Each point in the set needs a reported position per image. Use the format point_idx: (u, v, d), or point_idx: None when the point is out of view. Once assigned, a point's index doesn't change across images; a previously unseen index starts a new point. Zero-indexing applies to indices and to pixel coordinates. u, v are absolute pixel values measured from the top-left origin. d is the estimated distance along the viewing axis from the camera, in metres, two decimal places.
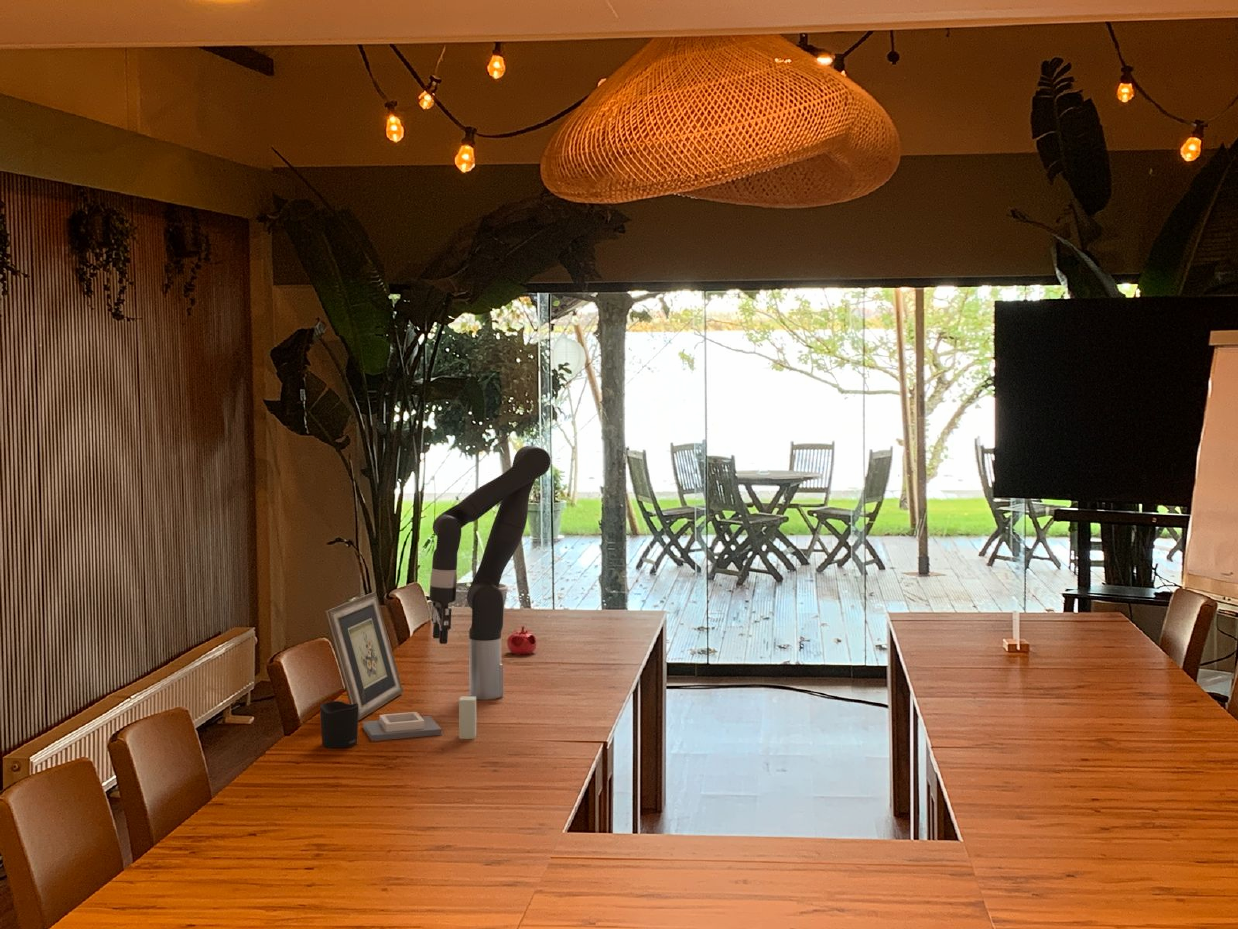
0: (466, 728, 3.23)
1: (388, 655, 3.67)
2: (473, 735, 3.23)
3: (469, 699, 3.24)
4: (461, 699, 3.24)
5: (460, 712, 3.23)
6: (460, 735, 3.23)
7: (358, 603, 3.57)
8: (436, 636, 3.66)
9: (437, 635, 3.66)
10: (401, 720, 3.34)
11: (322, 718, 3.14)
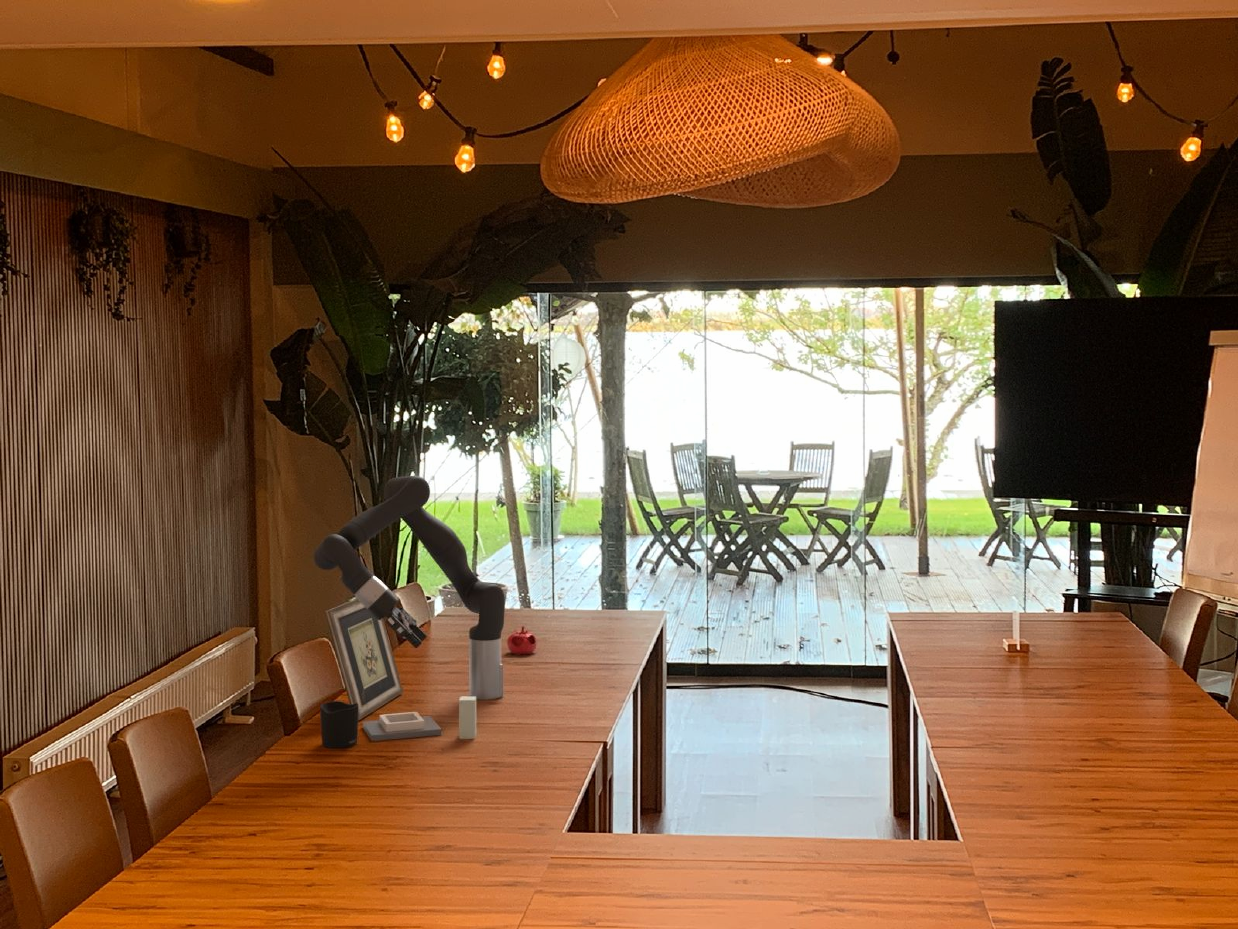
0: (466, 728, 3.23)
1: (388, 655, 3.67)
2: (473, 735, 3.23)
3: (469, 699, 3.24)
4: (461, 699, 3.24)
5: (460, 712, 3.23)
6: (460, 735, 3.23)
7: (358, 603, 3.57)
8: (422, 638, 3.28)
9: (422, 636, 3.28)
10: (401, 720, 3.34)
11: (322, 718, 3.14)
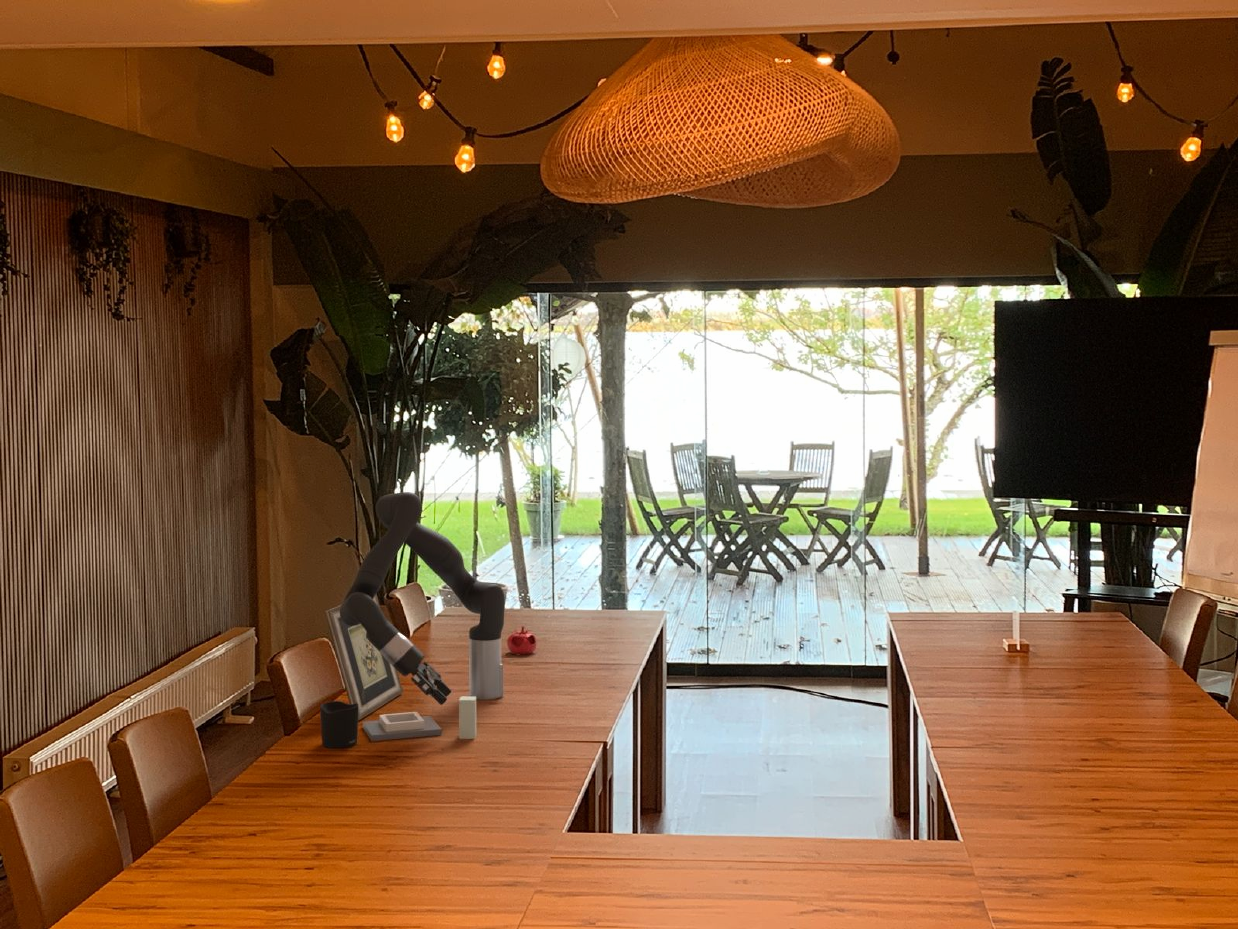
0: (466, 728, 3.23)
1: None
2: (473, 735, 3.23)
3: (469, 699, 3.24)
4: (461, 699, 3.24)
5: (460, 712, 3.23)
6: (460, 735, 3.23)
7: None
8: (446, 693, 3.29)
9: (446, 692, 3.29)
10: (401, 720, 3.34)
11: (322, 718, 3.14)
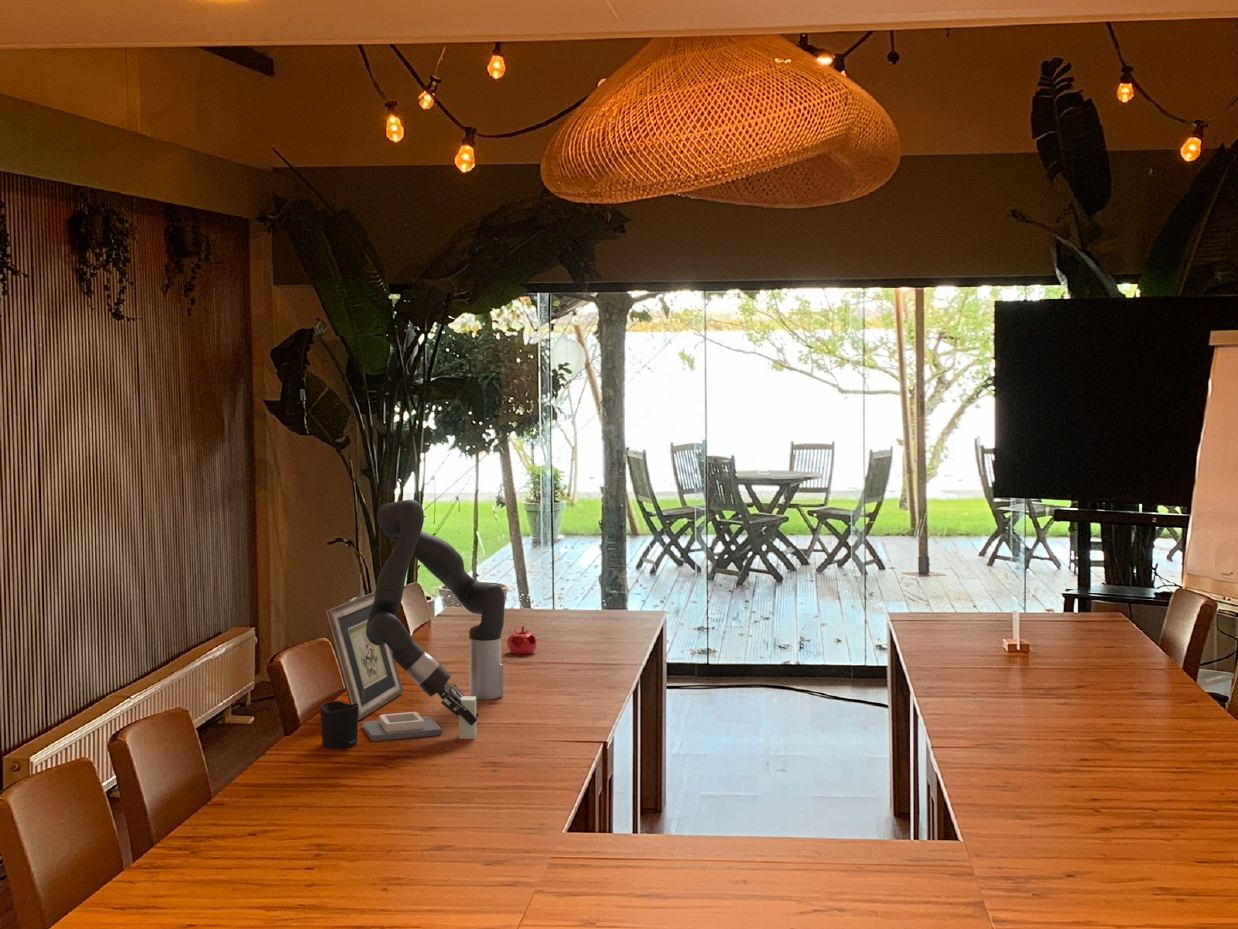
0: (466, 728, 3.23)
1: (388, 655, 3.67)
2: (473, 735, 3.23)
3: (469, 699, 3.24)
4: (461, 699, 3.24)
5: None
6: (460, 735, 3.23)
7: (358, 603, 3.57)
8: None
9: None
10: (401, 720, 3.34)
11: (322, 718, 3.14)
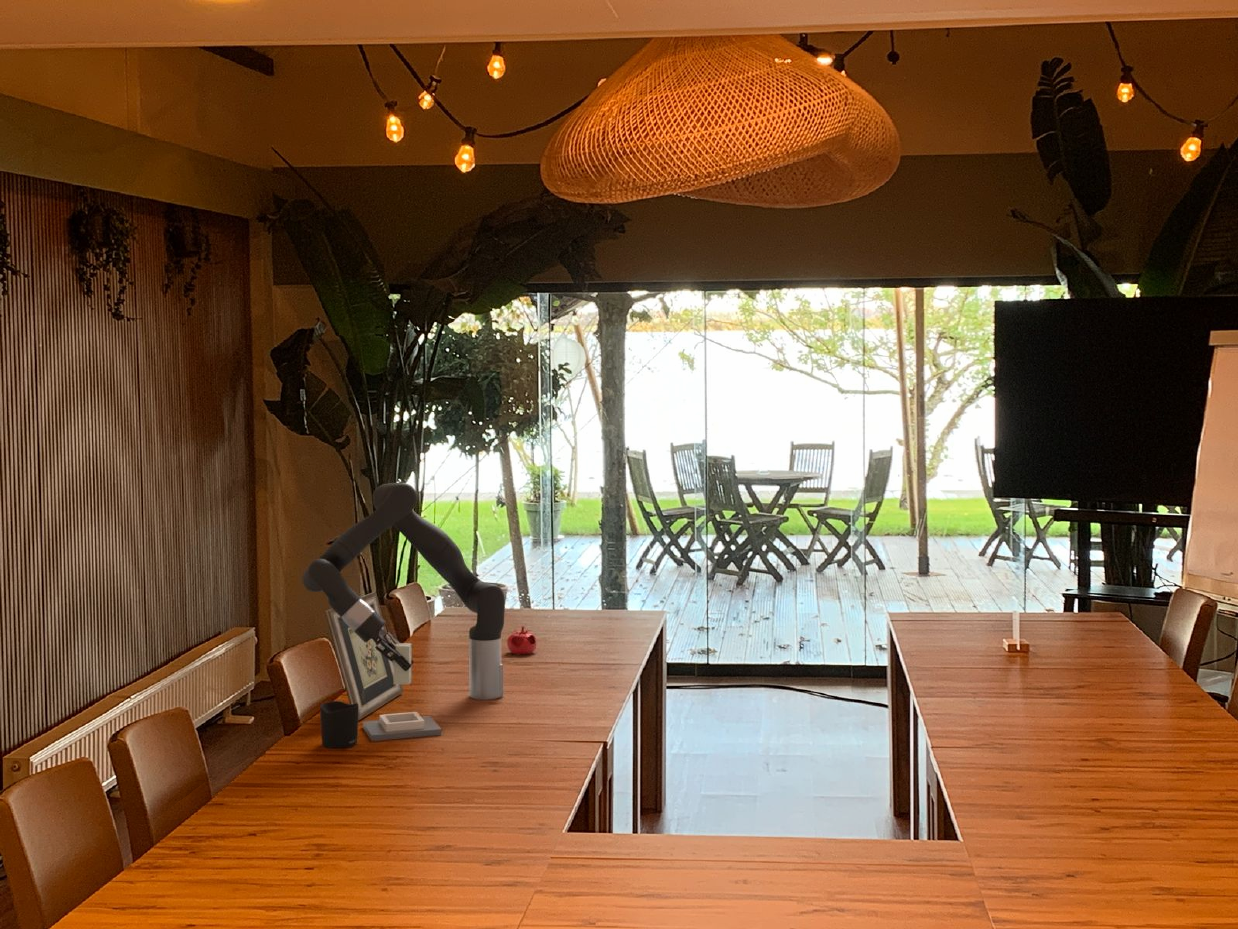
0: (401, 674, 3.27)
1: None
2: (407, 681, 3.27)
3: (404, 645, 3.28)
4: (396, 645, 3.28)
5: None
6: (394, 681, 3.27)
7: None
8: None
9: None
10: (401, 720, 3.34)
11: (322, 718, 3.14)
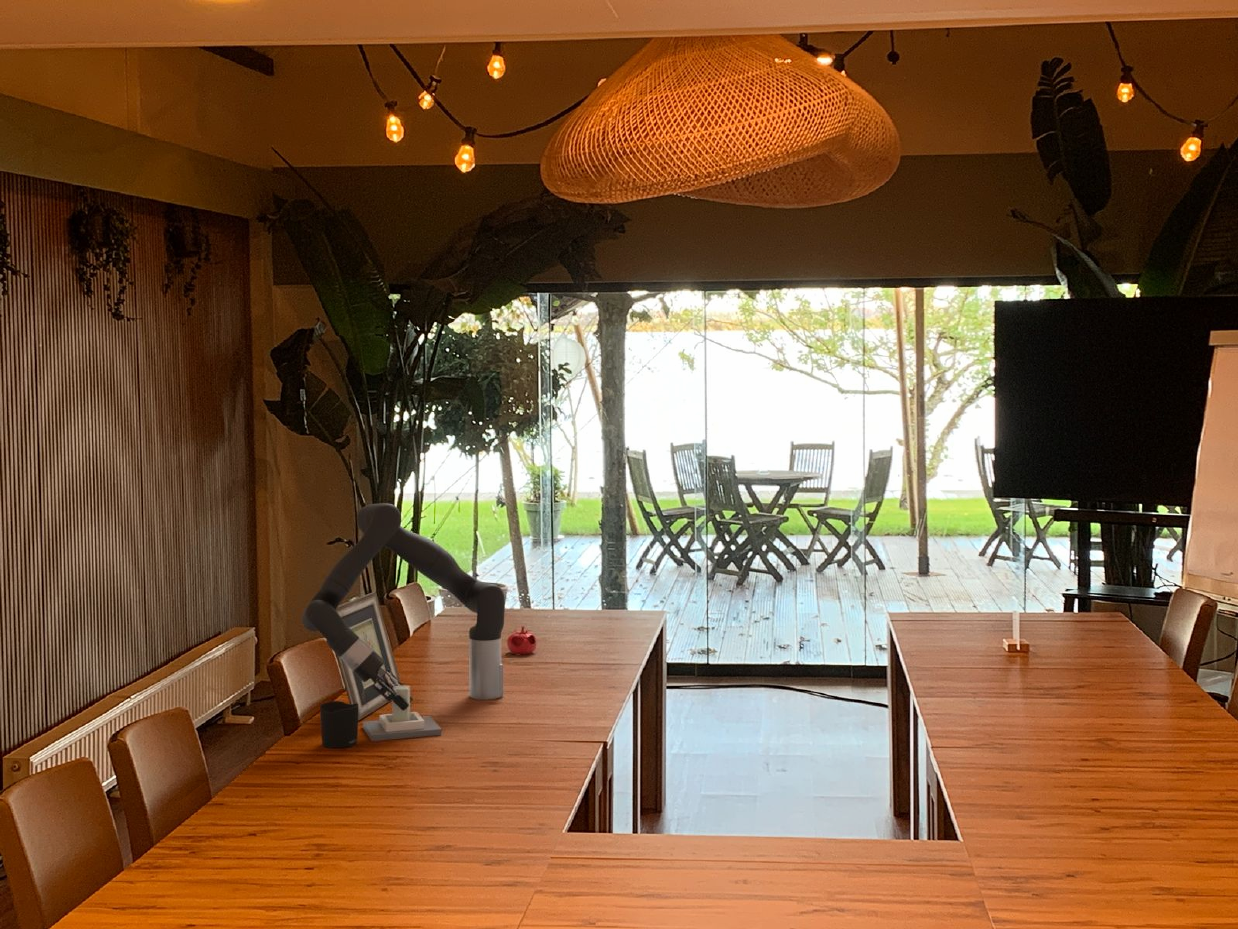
0: (399, 717, 3.28)
1: (388, 655, 3.67)
2: None
3: (402, 688, 3.29)
4: None
5: None
6: None
7: (358, 603, 3.57)
8: None
9: None
10: None
11: (322, 718, 3.14)
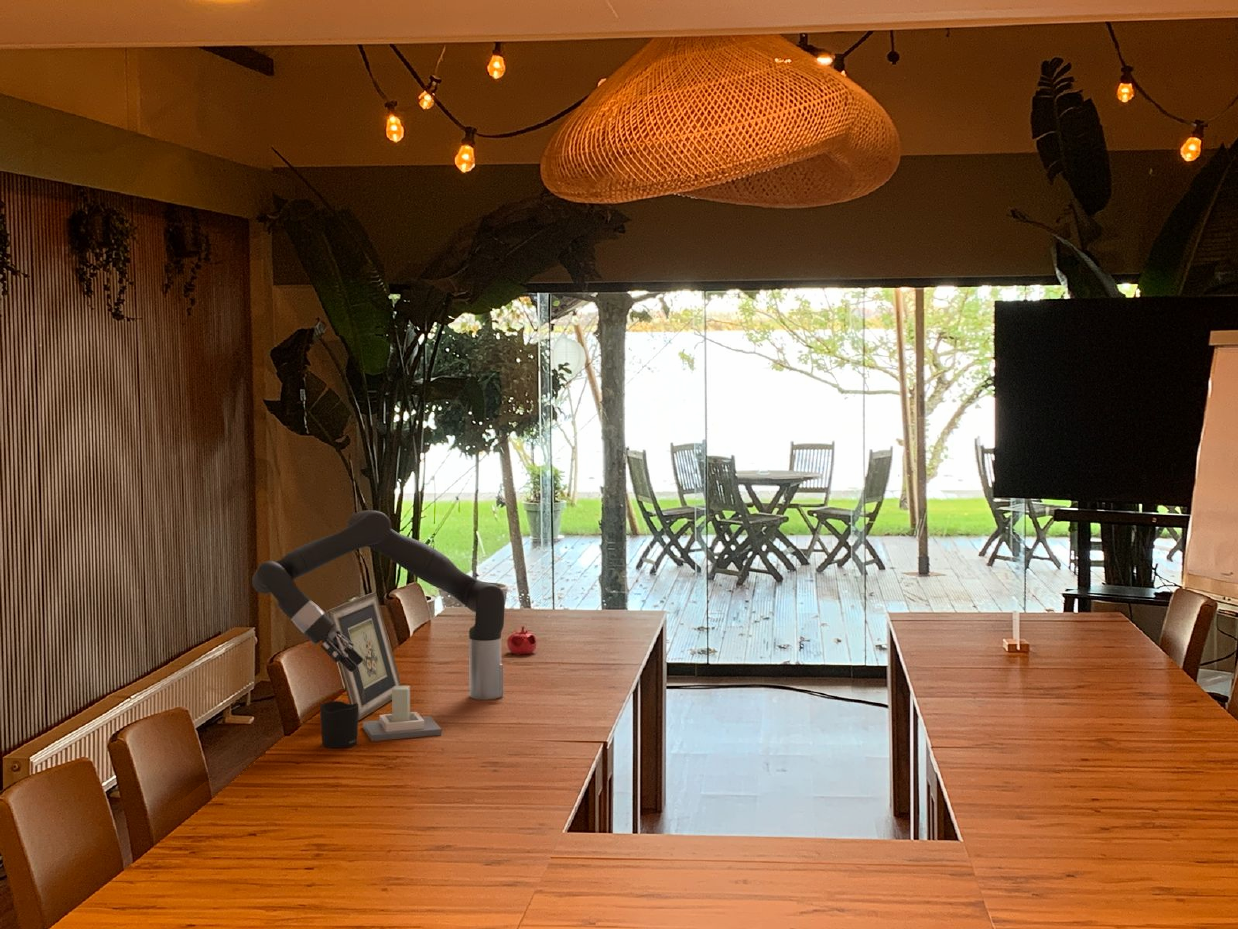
0: (399, 717, 3.28)
1: (388, 655, 3.67)
2: None
3: (402, 688, 3.28)
4: (394, 688, 3.28)
5: (393, 701, 3.28)
6: None
7: (358, 603, 3.57)
8: (358, 661, 3.33)
9: (358, 660, 3.33)
10: None
11: (322, 718, 3.14)
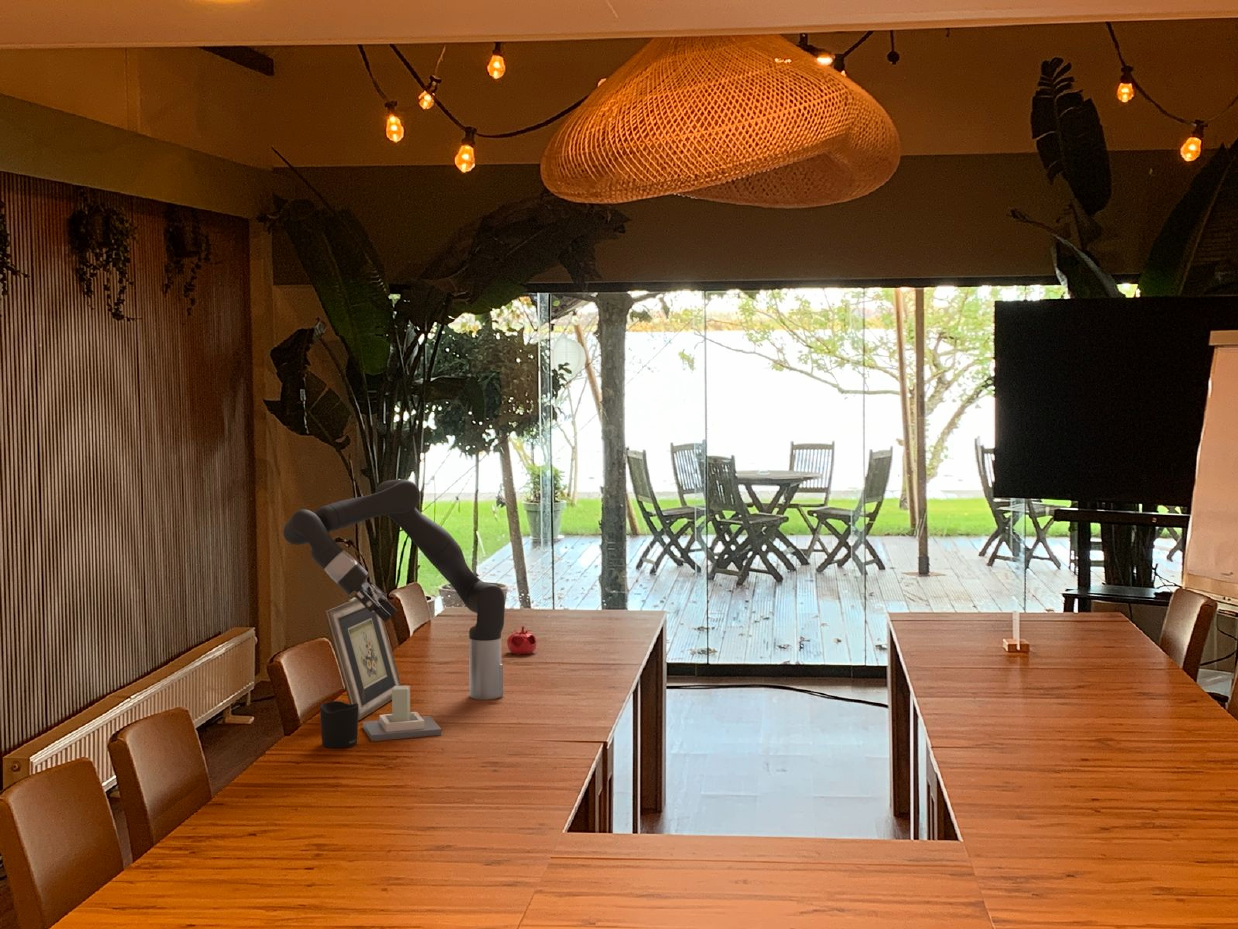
0: (399, 717, 3.28)
1: (388, 655, 3.67)
2: None
3: (402, 688, 3.28)
4: (394, 688, 3.28)
5: (393, 701, 3.28)
6: None
7: (358, 603, 3.57)
8: (392, 612, 3.30)
9: (392, 611, 3.30)
10: None
11: (322, 718, 3.14)
